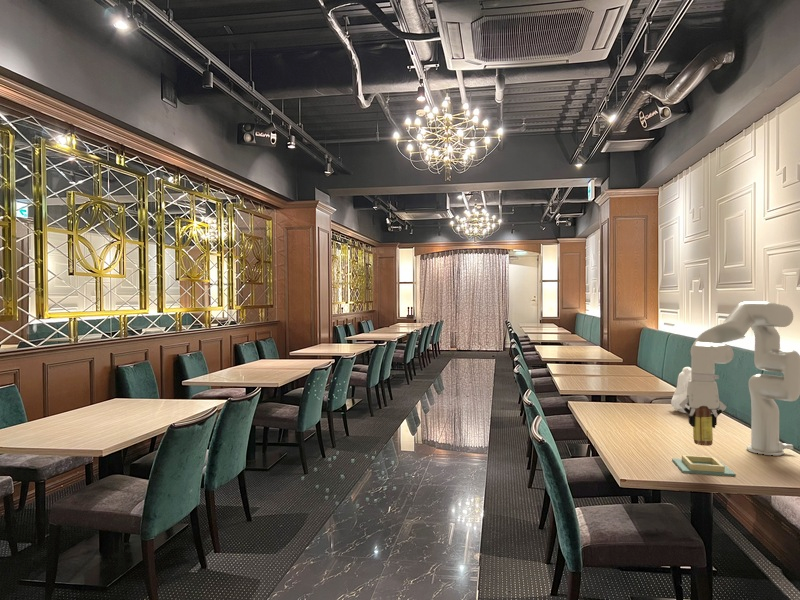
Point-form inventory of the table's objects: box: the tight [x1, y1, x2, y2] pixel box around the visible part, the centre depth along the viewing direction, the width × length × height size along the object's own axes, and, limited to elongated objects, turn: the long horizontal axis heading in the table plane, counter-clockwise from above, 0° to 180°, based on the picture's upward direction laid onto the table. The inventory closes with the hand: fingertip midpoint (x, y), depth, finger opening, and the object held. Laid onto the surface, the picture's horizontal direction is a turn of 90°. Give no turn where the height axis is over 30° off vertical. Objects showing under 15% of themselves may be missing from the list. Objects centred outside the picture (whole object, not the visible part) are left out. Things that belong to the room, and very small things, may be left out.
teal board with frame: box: [671, 454, 737, 477], centre depth 201 cm, size 17×15×3 cm
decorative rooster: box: [670, 366, 691, 415], centre depth 294 cm, size 25×16×25 cm, turn 166°
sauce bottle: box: [692, 406, 714, 447], centre depth 201 cm, size 6×6×20 cm
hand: (702, 426), depth 201 cm, fingers closed on sauce bottle, 6 cm apart
